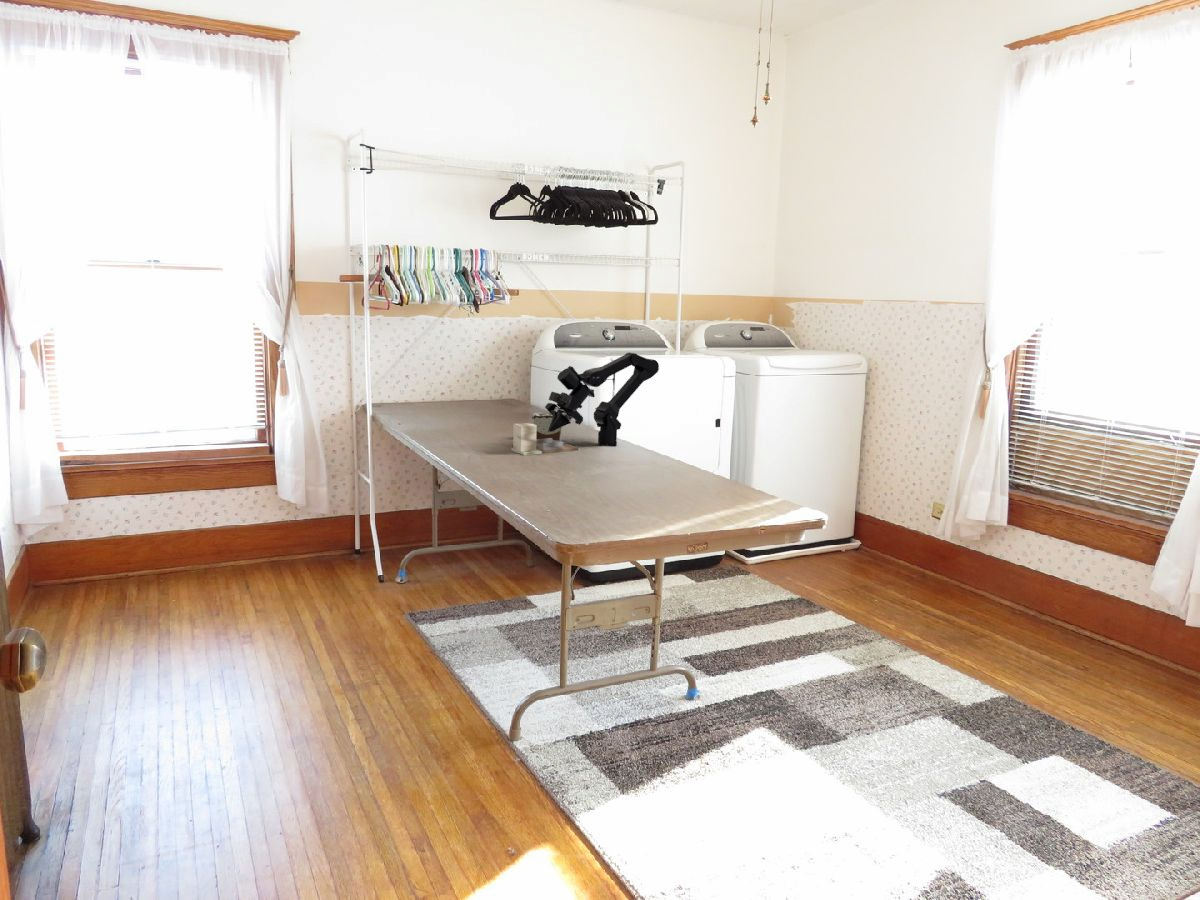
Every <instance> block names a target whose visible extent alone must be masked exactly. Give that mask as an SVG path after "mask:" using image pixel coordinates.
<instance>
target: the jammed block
mask: <svg viewBox="0 0 1200 900" xmlns="http://www.w3.org/2000/svg"><path fill="white" fill-rule="evenodd" d="M512 427H513V429H512V430H513V432H512V433H513V435H512V437H513V438H512V439H513V441H512V446H513V447H512V448H513V449H515V450H517V451H520V452H525V451H536V432H537V425H534V423H531V422H520V423H519V422H518V423H512Z"/></svg>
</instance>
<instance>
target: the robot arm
mask: <svg viewBox="0 0 1200 900" xmlns="http://www.w3.org/2000/svg"><path fill="white" fill-rule="evenodd" d="M659 365H660V364H659V363H658V361H657V360H655V359H652V358H646V357H643V356H642V355H639V354H638V353H635V352H626V353H625V354H624V355H621V356H620V357H618V358H616V359H614V360H611V362H607V363H606V364H604V365H602V366H600V367H599V366H598V367H593V368H589V369H586V370H584V371H583V372H582V373H578V372H577V371H576V369H575V368H574V367H573V366H571V365H570V366H568V367H567V368H565V369H563V370H562V371H560V372H559V374H557V380H558V381H559V382H560V383H561V385H563V387H564V388H565V389H566V390H568V391H570V390H571V391H570V393H569V394H568V393H566V392H563V391H561V393H559V392H554V391H551V392H550V394H549V398H548V401H552V402H547V403H546V405H545V406H544V408H545V409H546V410H547V412H550V413H551V414H552V415H553V418H552V421H551V424H550V426H549V429H548V430H549V432H552V431H554V430H556V429H558V428H560V427H561V428H563V427H565V426H567V425H570V424H571V423H572V422H571V421H572V420H574V421H575V425H579V426H580V425H581V424H582V423H583V421H584V417H583V416H582V414H581V413H580V412H579V411H578V409H582V407H583V405H582V404H583V403H584V401H585V400H586V399H587V398H588V397H590V398H595V390H594V389H592V388H590V387H594V388H598V387H600V386H601V385H603V384H604V383H605V382H606V381H607V379H608V378H610V377H611V376H613V375H615V374H616V373H619V372H621V371H623V370H625V369H627V368H629V367H630V366H632V367H634V368H633V373H632V375H631V376H630V377H629V379H627V380H626V382H625V383H624V384H623V385H622V387H620V388H619V390H618V391H617V392H616V393H615V394H614V396H613V397H612V398H611V399H610V400H609V401H607V402H606V401H601V402H600V403H599V405H598V406H597V407H595V410H594V412H593V420H594V421H595V424H596V426H597V427H598V428H599V430H598V434H597V443H598V445H599V446H607V447H609V446H610V447H611V446H612V447H613V446H614V447H617V445H618V440H617V439H618V436H617V434H618V430H621V427H622V422H621V421H619V420H618V419H617V418H618V417H619V416H620V415H619V414H620V410H621V408H622V407H623V406H624V405H625V404H626V402H627V401H628V400H629V399H630V398H631V396H632V395H634V393H635V392H636V391H637V390H638V389H639V388H640V386H641V385H642V384H643V383H644V382H646V381H648V380H649V379H652V378H653V377H654V376H655V375H656V374H657V373H658V372H659V370H660V366H659ZM553 402H554V403H553Z"/></svg>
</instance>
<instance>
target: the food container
mask: <svg viewBox="0 0 1200 900" xmlns="http://www.w3.org/2000/svg"><path fill="white" fill-rule="evenodd" d="M552 418H553V415H552V414H551V413H550V412H549V411H547V412H546V411H544V412H543V411H542V412H534V413H533V414H532V416H531V420H533V424H534V425H537V432H536V439H547V438H552V439H553V442H561V436H562V427H560V428H558V429H556V430H554V431H552V432H549V430H548V429H549V426H550V424H551V421H552Z"/></svg>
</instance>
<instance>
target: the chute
mask: <svg viewBox="0 0 1200 900" xmlns="http://www.w3.org/2000/svg"><path fill="white" fill-rule="evenodd" d="M510 451H512V452H514V453H518V454H519V455H522V456H530V455H531V456H532V455H542V454H551V453H552V454H553V453H562V452H572V451H574V452H575V451H579V447H576V446H573V445H570V444H567V443H565V442H564V441H553V439H552V438H547V439H536V451H525V452H520V451H517V450H515V449H513V447H511V449H510Z"/></svg>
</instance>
